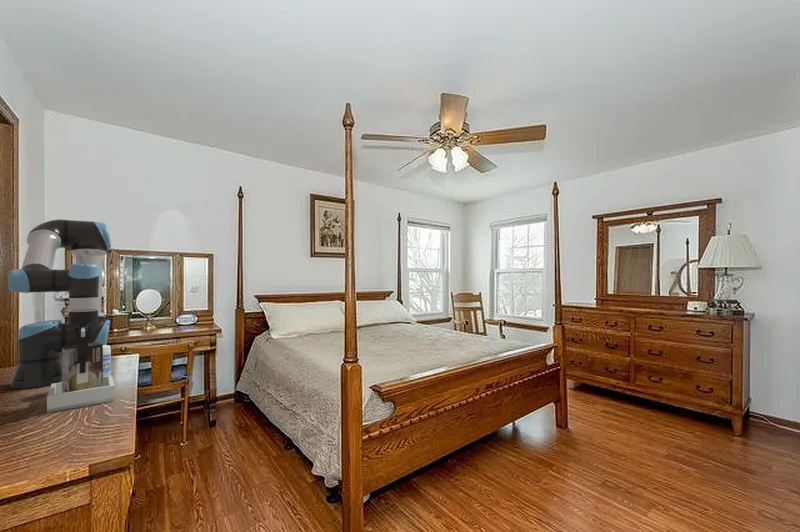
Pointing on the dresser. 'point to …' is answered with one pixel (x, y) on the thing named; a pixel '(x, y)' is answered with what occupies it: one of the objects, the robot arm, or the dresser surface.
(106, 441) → the dresser surface
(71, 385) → the coffee box
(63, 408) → the tote
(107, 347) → the supplement tub
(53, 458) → the dresser surface
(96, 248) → the robot arm
